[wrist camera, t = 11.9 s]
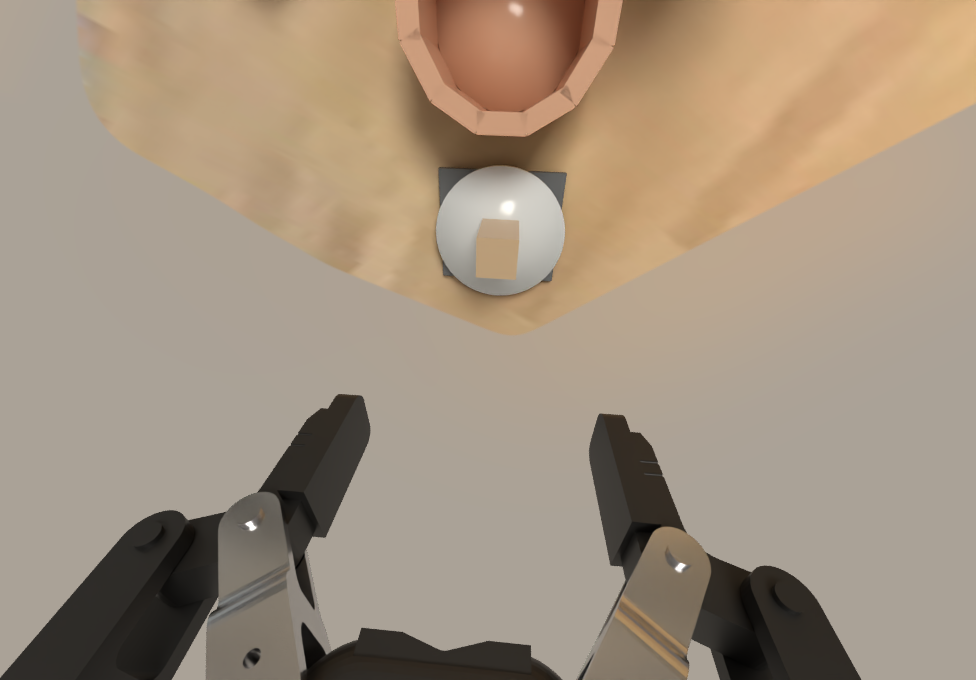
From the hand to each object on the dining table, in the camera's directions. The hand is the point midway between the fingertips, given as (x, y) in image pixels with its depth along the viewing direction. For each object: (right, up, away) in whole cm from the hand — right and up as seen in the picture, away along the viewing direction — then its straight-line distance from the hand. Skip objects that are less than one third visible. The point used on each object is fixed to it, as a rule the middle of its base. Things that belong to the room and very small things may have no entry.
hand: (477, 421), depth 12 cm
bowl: (+2, +23, +11) cm, 26 cm away
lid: (+1, +12, +18) cm, 21 cm away
